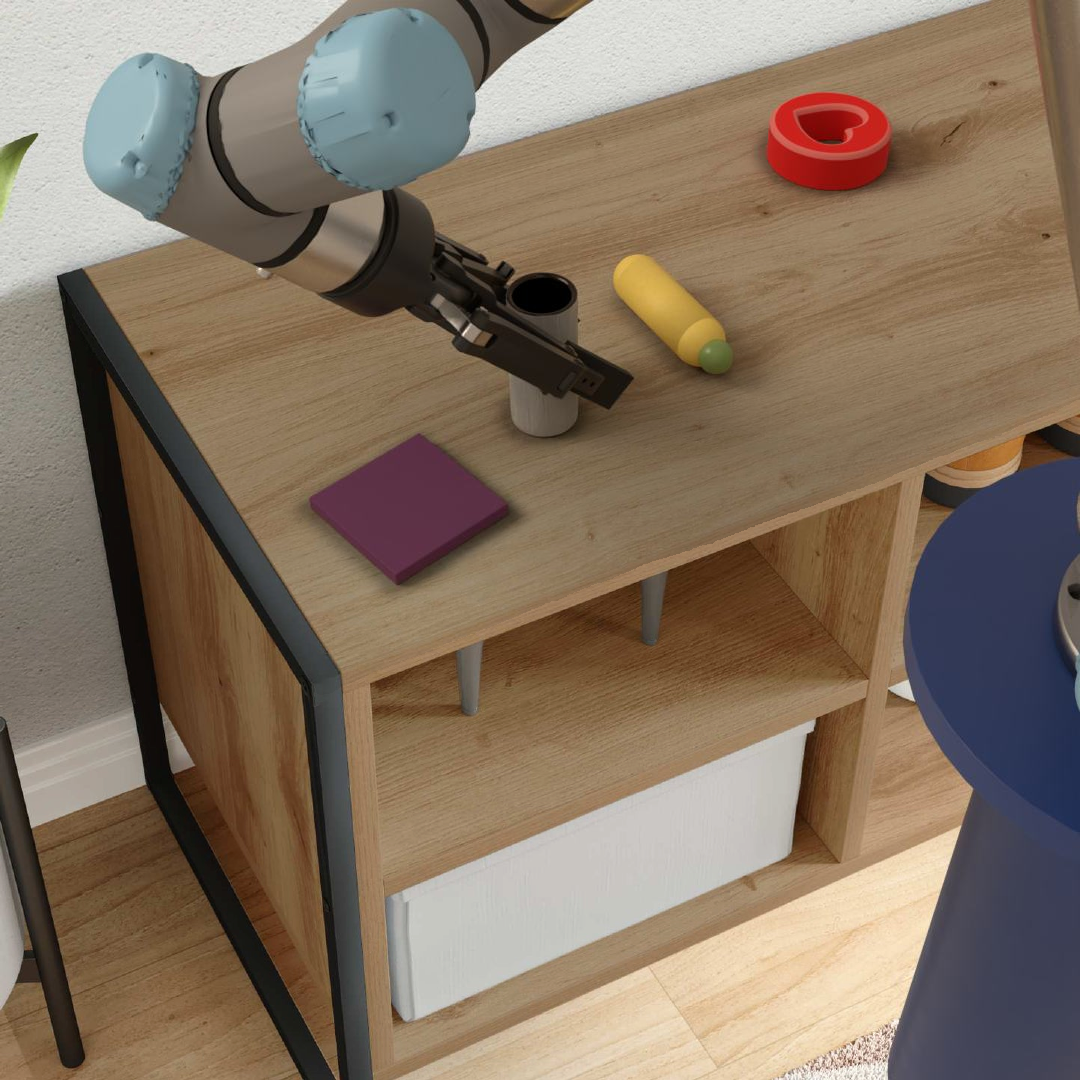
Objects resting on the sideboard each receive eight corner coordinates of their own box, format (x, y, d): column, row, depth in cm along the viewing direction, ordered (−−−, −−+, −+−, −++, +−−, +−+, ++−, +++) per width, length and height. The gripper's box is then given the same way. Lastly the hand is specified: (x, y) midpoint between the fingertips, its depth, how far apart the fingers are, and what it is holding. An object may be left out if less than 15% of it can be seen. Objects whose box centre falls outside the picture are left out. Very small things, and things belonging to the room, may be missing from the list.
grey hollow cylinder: (564, 444, 104) (563, 321, 97) (501, 429, 105) (495, 307, 98) (587, 401, 107) (587, 279, 100) (524, 387, 108) (520, 265, 101)
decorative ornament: (771, 119, 131) (775, 85, 129) (889, 129, 130) (894, 95, 127) (761, 184, 125) (764, 149, 122) (884, 195, 123) (890, 160, 121)
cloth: (508, 514, 100) (508, 503, 99) (396, 585, 96) (395, 574, 95) (420, 443, 105) (419, 432, 104) (310, 508, 101) (308, 497, 100)
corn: (745, 377, 109) (749, 337, 106) (702, 395, 108) (705, 354, 105) (645, 278, 117) (646, 238, 114) (603, 294, 115) (604, 253, 113)
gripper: (240, 202, 95) (490, 327, 112) (378, 382, 83) (632, 491, 101) (311, 99, 93) (553, 242, 110) (462, 269, 81) (707, 400, 98)
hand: (591, 361), depth 105 cm, fingers open, 6 cm apart
